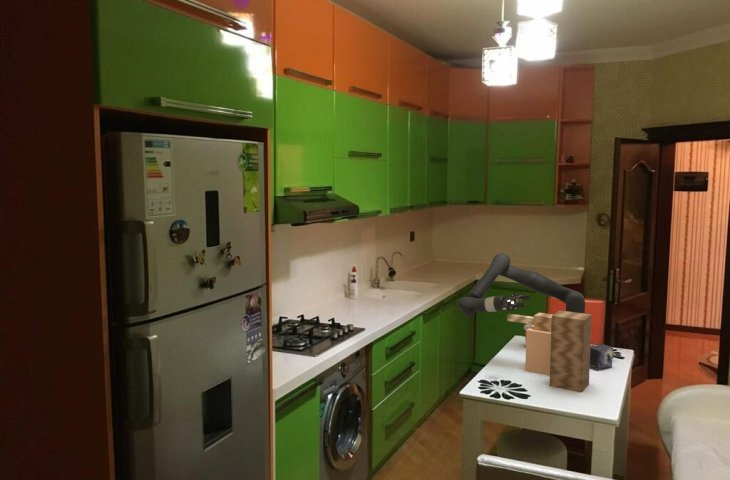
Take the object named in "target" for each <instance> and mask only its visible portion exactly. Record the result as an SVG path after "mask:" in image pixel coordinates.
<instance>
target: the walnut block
mask: <svg viewBox="0 0 730 480" xmlns="http://www.w3.org/2000/svg"><path fill="white" fill-rule="evenodd" d="M592 316H593V315H592V314H591V313H589V314H588V313H585V314H584V313H576V312H568V311H566V310H558V311H556V312H555V313H554V314H553V315H552V320H551V353H550V375H549V387H553V388H557V389H562V390H567V391H572V392H576V393H583V392H584V391H585V390H586V389H587V387H589V385H590V369H591V368H590V346H592V343H591V342H592V341H591V340H592V339H591V338H592V337H591V336H592V320H593V319H592Z"/></svg>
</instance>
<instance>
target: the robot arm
mask: <svg viewBox="0 0 730 480" xmlns="http://www.w3.org/2000/svg"><path fill="white" fill-rule="evenodd" d="M498 276H502V277H504V278H506V279H507V278H508V279H509V280H512V281H514V282H516V283H518V284H520V285H522V286H524V287H526V288H528V289H530V290H532V291H534V292H537V293H539V294H541V295H545V296H548V297H552V298H555V299H557V300H559V301H560V302H562V303H564V304H565V311H568V312H576V313H584V314H586V300H585V297H584V295H583V294H582V293H581V292H580V291H576V290H575V289H571V288H568V287H565V286H563V285H562V284H560V283H558V282H556V281H554V280H552V279H550V278H549V277H547V276H545V275H542V274H541V273H538V272H536V271H533V270H527V269H521V268H519V267H516V266H514V265H512V264H511V259H510V256H509V255H508V254H507V253H502V252H500V253H498V254H496V255H495V256H494V257H493V258H492V261H491V263H490V266H489V267H488V268H487V270H486V272H484V274H483V275H482V276H481V278H480V279H479V280H478V281H477V282H476V283H475V285H474V286H473V287H472V288H471V290H470V291H469V293H468V295H469V296H464V297H461V298H460V299H458V301H457V307H458V308H459V310H460V311H461V313H462V314H463V316H465V317H466V318H468V317H472V316H473V315H475V313H476V312H478V313H488V312H490V313H494V312H495V313H496V312H509V311H512V312H513V311H515V310H516V309H519V308H524V307H525V305H526V304H525V302H521V301H527V300H530V299H531V296H530V294H524V295H523V293H522V292H521V293H513V294H510V296H509V297H506V296H505V295H497V296H496V295H494V296H488V297H485V296H486V294H487V293H488V291H489V290H490V288H492V285H493V283H494V282H495V280H496V279H497V278H498Z"/></svg>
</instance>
